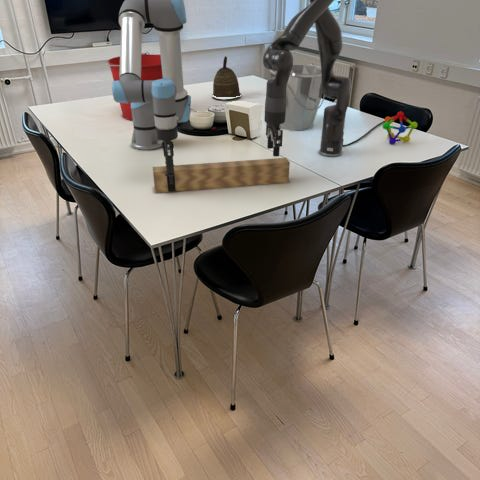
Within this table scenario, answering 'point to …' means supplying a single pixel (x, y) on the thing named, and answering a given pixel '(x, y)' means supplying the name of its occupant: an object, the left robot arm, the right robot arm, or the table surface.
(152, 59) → the bucket
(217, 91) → the bell
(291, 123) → the bucket
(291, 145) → the table surface
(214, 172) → the beam
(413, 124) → the educational toy
